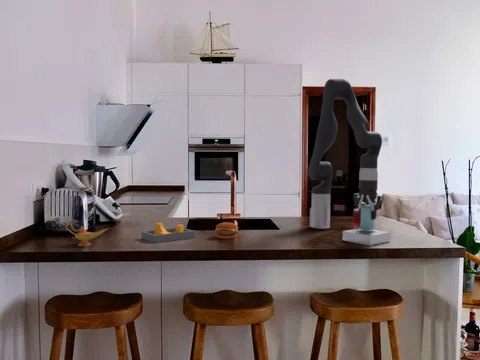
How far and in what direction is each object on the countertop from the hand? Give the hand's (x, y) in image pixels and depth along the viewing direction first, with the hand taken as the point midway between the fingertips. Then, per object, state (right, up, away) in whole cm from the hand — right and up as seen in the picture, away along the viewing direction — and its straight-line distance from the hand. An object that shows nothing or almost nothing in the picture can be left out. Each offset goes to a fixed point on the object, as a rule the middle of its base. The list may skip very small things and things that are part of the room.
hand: (367, 218), depth 191 cm
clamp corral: (-85, -9, +4) cm, 86 cm away
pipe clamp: (-85, -10, +4) cm, 86 cm away
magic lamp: (-115, -10, -11) cm, 116 cm away
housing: (0, -10, +1) cm, 10 cm away
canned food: (+3, -9, +22) cm, 24 cm away
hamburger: (-60, -9, +8) cm, 61 cm away
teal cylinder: (0, -5, 0) cm, 5 cm away
